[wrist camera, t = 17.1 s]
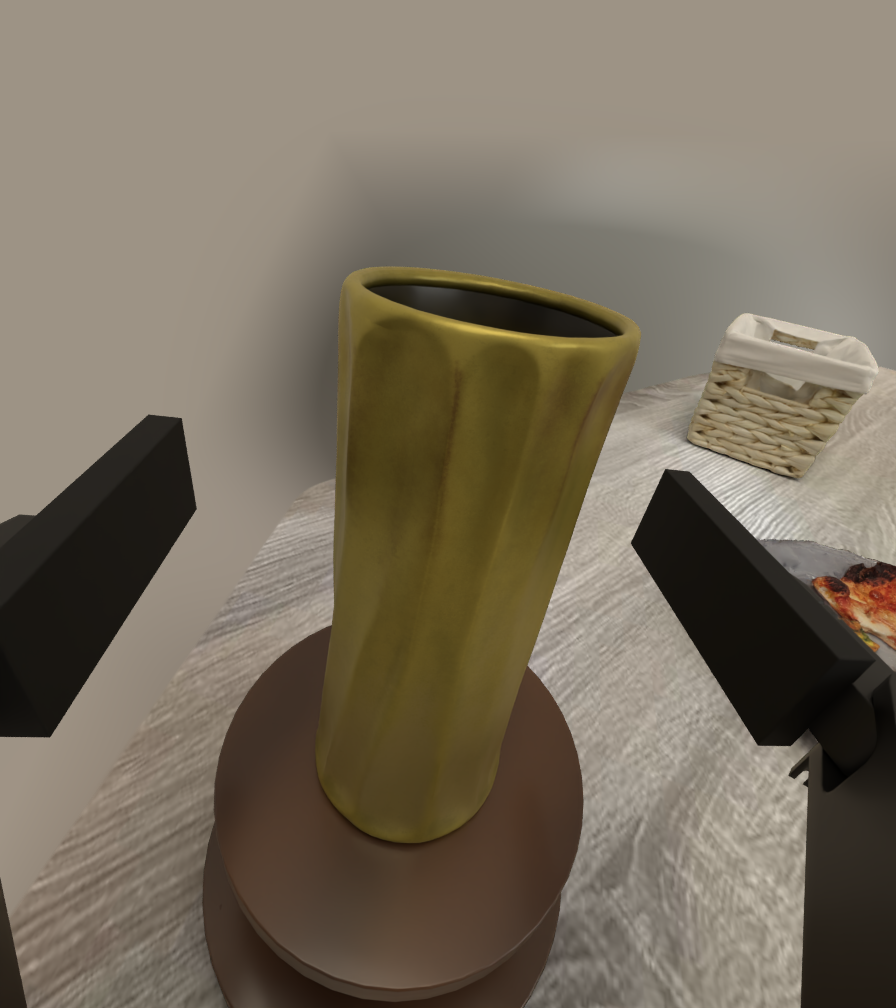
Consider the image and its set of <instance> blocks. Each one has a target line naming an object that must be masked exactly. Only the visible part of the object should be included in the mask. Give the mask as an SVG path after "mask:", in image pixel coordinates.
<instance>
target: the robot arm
mask: <svg viewBox="0 0 896 1008" xmlns="http://www.w3.org/2000/svg"><path fill="white" fill-rule="evenodd" d="M196 509H197V508H196V502H195V496H194V490H193V484H192V478H191V472H190V466H189V460H188V455H187V448H186V442H185V436H184V430H183V423H182V418H175V417H166V416H156V415H148V416H146V418H144V419H143V420H142V421H141V422H140V423H139V424H138V425H136V426H135V427H134V428H133V429H132V430H131V431H130V432H129V433H128V434H126V435H125V436H124V437H123V438H122V439H121V440H120V441H119V442H118V443H116V444H115V445H114V446H113V447H112V448H111V449H110V450H109V451H107V452H106V453H105V454H104V455H103V456H102V457H101V458H100V459H99V460H97V461H96V462H95V463H94V464H93V465H92V466H91V467H90V468H89V469H87V470H86V471H85V472H84V473H83V474H82V475H81V476H80V477H79V478H77V479H76V480H75V481H74V482H73V483H72V484H71V485H70V486H68V487H67V488H66V489H65V490H64V491H63V492H62V493H61V494H60V495H58V496H57V498H55V499H54V500H53V501H52V502H51V503H50V504H48V505H47V506H46V507H45V508H44V509H43V510H42V511H41V512H40V513H38V514H37V515H36V516H32V515H18V516H16V517H13V518H11V519H9V520H7V521H5V522H3V523H1V524H0V737H51V735H52V734H53V732H54V730H55V729H56V727H57V726H58V724H59V723H60V721H61V720H62V718H63V716H64V715H65V713H66V712H67V710H68V708H69V707H70V706H71V704H72V702H73V701H74V699H75V697H76V696H77V694H78V693H79V691H80V690H81V688H82V687H83V685H84V684H85V682H86V681H87V679H88V677H89V676H90V674H91V673H92V671H93V670H94V668H95V666H96V665H97V663H98V662H99V660H100V659H101V657H102V656H103V654H104V652H105V651H106V649H107V648H108V646H109V645H110V643H111V642H112V640H113V638H114V637H115V635H116V634H117V632H118V631H119V629H120V627H121V626H122V624H123V623H124V621H125V620H126V618H127V616H128V615H129V614H130V612H131V610H132V609H133V607H134V606H135V604H136V603H137V601H138V599H139V598H140V596H141V595H142V593H143V592H144V590H145V589H146V587H147V586H148V584H149V582H150V581H151V579H152V578H153V576H154V575H155V573H156V571H157V570H158V568H159V567H160V565H161V564H162V562H163V561H164V559H165V557H166V556H167V554H168V553H169V551H170V550H171V547H172V546H173V545H174V543H175V542H176V540H177V539H178V537H179V536H180V534H181V533H182V531H183V529H184V528H185V526H186V525H187V523H188V522H189V520H190V519H191V517H192V515H193V514H194V512H195V511H196ZM631 544H632V546H633V548H634V549H635V551H636V552H637V554H638V556H639V557H640V559H641V560H642V562H643V564H644V565H645V567H646V568H647V570H648V571H649V573H650V575H651V576H652V578H653V579H654V581H655V583H656V584H657V586H658V587H659V589H660V591H661V592H662V594H663V595H664V597H665V599H666V600H667V602H668V603H669V605H670V606H671V608H672V610H673V611H674V613H675V614H676V616H677V618H678V619H679V621H680V622H681V624H682V626H683V627H684V629H685V630H686V632H687V633H688V635H689V637H690V638H691V640H692V641H693V643H694V645H695V646H696V648H697V649H698V651H699V653H700V654H701V656H702V657H703V659H704V661H705V662H706V664H707V665H708V667H709V668H710V670H711V672H712V673H713V675H714V676H715V678H716V680H717V681H718V683H719V684H720V686H721V688H722V689H723V691H724V692H725V694H726V695H727V697H728V699H729V700H730V702H731V703H732V705H733V707H734V708H735V710H736V711H737V713H738V715H739V716H740V718H741V719H742V721H743V723H744V724H745V726H746V727H747V729H748V730H749V732H750V734H751V735H752V737H753V738H754V740H755V742H756V743H757V745H758V746H791V745H792V744H793V743H794V742H795V741H796V740H797V739H798V738H799V737H800V736H801V735H802V734H803V733H804V732H805V731H806V730H807V729H809V730H810V731H811V733H812V734H813V735H814V737H815V738H816V739H817V741H818V742H819V743H818V744H817V745H816V746H814V747H813V748H812V749H811V750H810V751H809V752H808V753H807V754H806V755H805V756H804V757H803V758H802V759H801V760H800V761H799V762H798V763H797V764H796V765H795V766H793V767H792V768H791V771H790V773H789V776H790V777H792V778H793V779H795V778H796V777H797V776H798V775H799V774H800V773H802V772H803V771H809V777H808V779H807V780H806V781H805V782H804V783H803V785H805V786H807V787H808V807H807V837H806V867H805V897H804V927H803V957H802V987H801V1008H896V672H894V671H893V670H892V669H891V668H890V667H889V666H888V665H887V664H886V663H885V662H884V661H883V660H882V659H881V658H880V657H879V656H878V655H877V654H876V653H875V652H874V651H873V650H872V649H871V648H870V647H869V646H868V645H867V644H866V643H865V642H864V641H863V640H862V639H861V638H860V637H859V636H858V635H857V634H856V633H855V632H854V631H853V630H852V629H851V628H850V627H849V626H848V625H847V624H846V623H845V622H844V621H843V620H842V619H838V615H837V614H836V613H835V612H834V611H833V610H832V609H831V608H830V607H829V606H828V605H824V601H823V600H822V599H821V598H820V597H819V596H818V595H817V594H816V593H815V592H814V591H813V590H812V589H811V588H810V587H809V586H808V585H807V584H805V583H804V582H802V581H801V580H799V579H798V578H797V577H795V576H794V575H792V574H791V573H789V572H788V571H787V570H786V569H785V568H784V567H783V566H782V565H781V564H780V563H779V562H778V561H777V560H776V559H775V558H774V557H773V556H772V555H771V554H770V553H769V552H768V551H767V550H766V549H765V548H764V547H763V546H762V545H761V544H760V543H759V542H758V540H757V539H756V538H755V537H754V536H753V535H752V534H751V533H750V532H749V531H748V530H747V529H746V528H745V527H744V526H743V525H742V524H741V523H740V522H739V521H738V520H737V519H736V518H735V517H734V516H733V515H732V514H731V513H730V512H729V511H728V510H727V509H726V508H725V507H724V506H723V505H722V504H721V503H720V502H719V501H718V500H717V499H716V498H715V497H714V496H713V495H712V494H711V493H710V492H709V491H708V490H707V489H706V488H705V487H704V486H703V485H702V484H701V483H700V482H699V481H698V480H697V479H696V478H695V477H694V476H693V475H692V474H691V473H690V472H688V471H678V470H669V469H665V471H664V473H663V475H662V477H661V479H660V482H659V484H658V486H657V488H656V490H655V492H654V494H653V497H652V499H651V501H650V503H649V505H648V507H647V510H646V512H645V514H644V516H643V518H642V520H641V522H640V525H639V527H638V529H637V531H636V533H635V535H634V537H633V540H632V542H631ZM0 1008H27V1005H26V1000H25V995H24V990H23V985H22V980H21V976H20V971H19V966H18V961H17V956H16V952H15V947H14V942H13V937H12V932H11V928H10V923H9V918H8V914H7V908H6V904H5V899H4V894H3V889H2V884H1V879H0Z"/></svg>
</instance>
